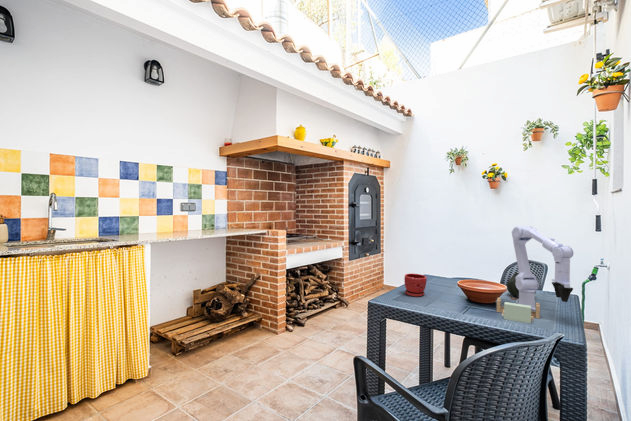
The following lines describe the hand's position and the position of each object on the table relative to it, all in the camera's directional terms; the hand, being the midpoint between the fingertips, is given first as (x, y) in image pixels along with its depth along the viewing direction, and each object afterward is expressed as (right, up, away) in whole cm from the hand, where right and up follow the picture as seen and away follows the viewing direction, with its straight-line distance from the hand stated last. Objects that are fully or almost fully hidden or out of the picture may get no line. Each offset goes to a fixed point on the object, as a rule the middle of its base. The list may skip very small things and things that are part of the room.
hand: (561, 299), depth 158 cm
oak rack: (-15, -10, +11) cm, 21 cm away
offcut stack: (-18, -11, +5) cm, 22 cm away
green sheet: (-21, -10, +1) cm, 23 cm away
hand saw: (-3, -10, +46) cm, 47 cm away
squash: (+7, -10, +42) cm, 44 cm away
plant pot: (-57, -10, +45) cm, 73 cm away
